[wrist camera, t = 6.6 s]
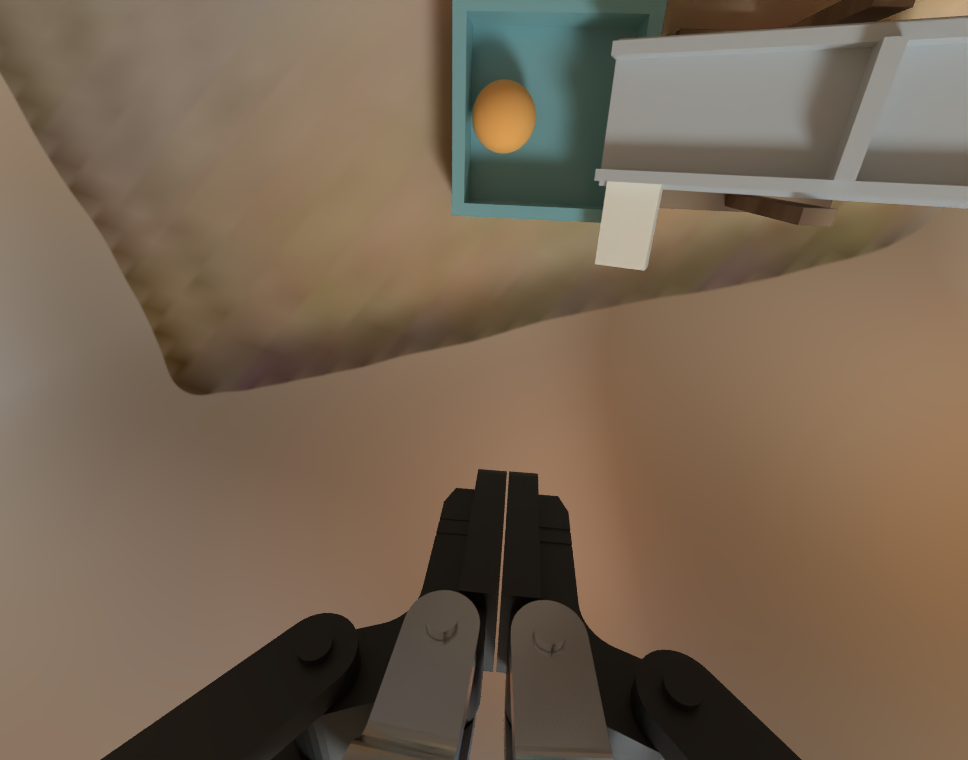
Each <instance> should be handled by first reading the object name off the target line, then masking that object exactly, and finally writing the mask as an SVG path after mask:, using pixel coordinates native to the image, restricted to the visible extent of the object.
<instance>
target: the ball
mask: <svg viewBox="0 0 968 760" xmlns="http://www.w3.org/2000/svg"><path fill="white" fill-rule="evenodd" d="M535 122H536V110H535V105H534V102H533V99H532V97H531V95H530V94H529V92H528V91H527V90H526V89H525V88H524V87H523V86H522V85H521V84H519V83H517V82H515V81H512V80H507V79H502V80H497V81H494V82H492V83H490V84H488V85H487V86H486V87H485V88H484V89H483V90H482V91H481V92H480V93H479V95H478V97H477V98H476V101H475V103H474V106H473V111H472V123H473V128H474V131H475V134H476V136H477V138H478V139H479V141H480V142H481V143H482V144H483V145H484V146H485V147H486V148H487V149H489V150H491V151H493V152H496V153H511V152H514V151H516V150H518V149H519V148H521V147H522V146H523V145H524V144H525V143H526V142H527V141H528V139H529V138H530V136H531V134H532V132H533V130H534V127H535Z"/></svg>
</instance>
